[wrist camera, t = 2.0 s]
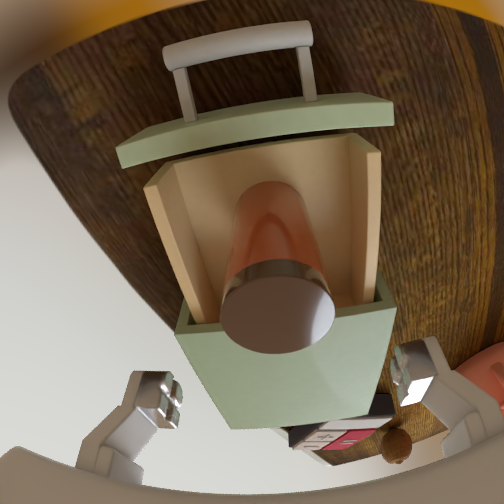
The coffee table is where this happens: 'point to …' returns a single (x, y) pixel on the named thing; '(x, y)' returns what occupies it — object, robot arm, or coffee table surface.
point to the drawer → (263, 169)
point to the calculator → (342, 428)
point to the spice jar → (275, 274)
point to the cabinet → (294, 368)
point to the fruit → (396, 446)
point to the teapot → (487, 371)
